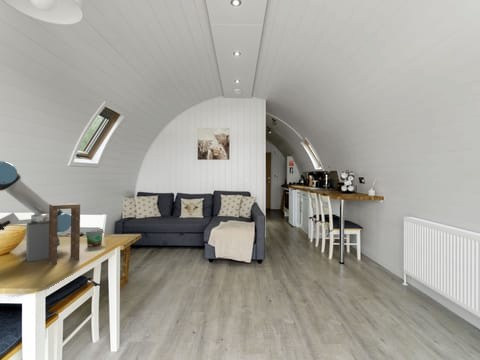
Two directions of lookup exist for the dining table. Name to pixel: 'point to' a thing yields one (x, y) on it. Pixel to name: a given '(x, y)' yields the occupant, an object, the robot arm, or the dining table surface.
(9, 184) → the robot arm
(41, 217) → the silver saucepan
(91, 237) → the food container
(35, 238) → the gray rectangular block
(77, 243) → the tall stand
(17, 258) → the dining table surface
